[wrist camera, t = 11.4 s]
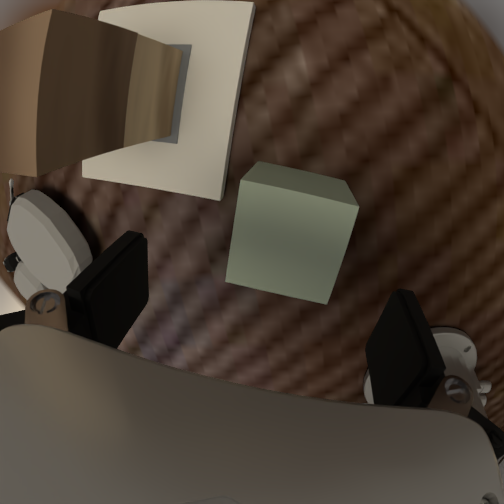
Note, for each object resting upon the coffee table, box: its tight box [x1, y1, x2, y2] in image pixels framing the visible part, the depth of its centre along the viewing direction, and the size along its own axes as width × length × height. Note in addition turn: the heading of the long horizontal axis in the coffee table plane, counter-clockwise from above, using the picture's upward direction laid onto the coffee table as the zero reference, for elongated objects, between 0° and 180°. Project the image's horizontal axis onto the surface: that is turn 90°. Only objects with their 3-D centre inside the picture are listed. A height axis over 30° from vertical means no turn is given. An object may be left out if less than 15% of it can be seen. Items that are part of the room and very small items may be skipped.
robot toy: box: [3, 179, 93, 300], centre depth 25 cm, size 12×4×15 cm
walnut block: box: [0, 9, 138, 177], centre depth 10 cm, size 6×6×6 cm
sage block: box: [225, 161, 359, 304], centre depth 19 cm, size 6×6×6 cm
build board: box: [82, 1, 256, 201], centre depth 18 cm, size 12×14×1 cm
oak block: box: [124, 34, 183, 148], centre depth 15 cm, size 6×6×6 cm
